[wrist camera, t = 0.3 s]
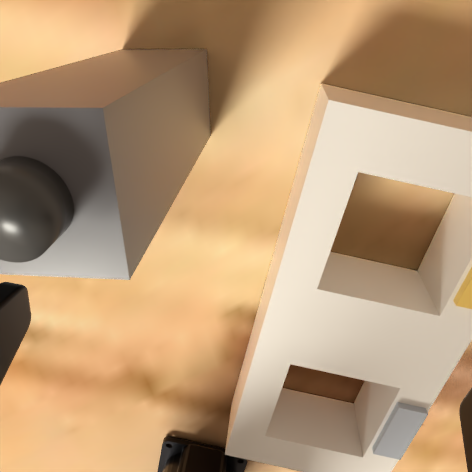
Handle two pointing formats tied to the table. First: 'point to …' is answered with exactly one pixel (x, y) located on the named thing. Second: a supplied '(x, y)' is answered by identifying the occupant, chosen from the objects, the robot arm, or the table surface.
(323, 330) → the socket block
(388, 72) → the table surface
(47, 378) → the table surface
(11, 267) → the plug
